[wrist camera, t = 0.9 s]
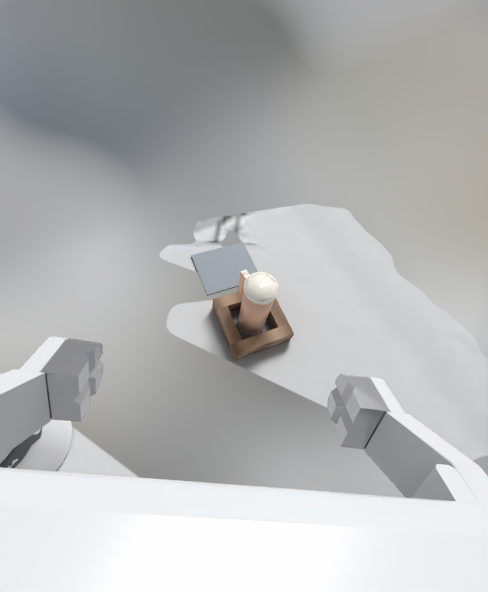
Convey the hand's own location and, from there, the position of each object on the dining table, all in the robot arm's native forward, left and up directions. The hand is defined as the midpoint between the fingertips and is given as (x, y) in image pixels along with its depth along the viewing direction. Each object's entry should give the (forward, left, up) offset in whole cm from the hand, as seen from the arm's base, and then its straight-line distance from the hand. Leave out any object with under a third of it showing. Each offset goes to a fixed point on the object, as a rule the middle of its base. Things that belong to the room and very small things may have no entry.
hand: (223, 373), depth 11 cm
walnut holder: (+17, +21, -52) cm, 59 cm away
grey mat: (+17, +37, -52) cm, 66 cm away
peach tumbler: (+17, +22, -52) cm, 59 cm away
